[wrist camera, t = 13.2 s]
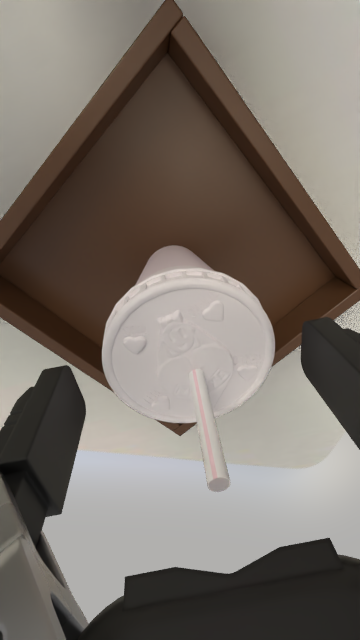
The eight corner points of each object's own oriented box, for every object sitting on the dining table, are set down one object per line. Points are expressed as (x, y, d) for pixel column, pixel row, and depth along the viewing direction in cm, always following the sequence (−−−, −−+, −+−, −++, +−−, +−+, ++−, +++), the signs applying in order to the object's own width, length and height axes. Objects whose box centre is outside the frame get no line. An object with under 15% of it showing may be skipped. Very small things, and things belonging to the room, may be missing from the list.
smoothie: (149, 331, 21) (146, 569, 9) (104, 248, 18) (1, 429, 6) (235, 296, 20) (362, 501, 8) (202, 204, 17) (323, 303, 5)
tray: (-18, 266, 19) (-49, 285, 16) (166, 27, 14) (169, -8, 11) (176, 405, 26) (180, 436, 23) (343, 272, 21) (374, 289, 18)
